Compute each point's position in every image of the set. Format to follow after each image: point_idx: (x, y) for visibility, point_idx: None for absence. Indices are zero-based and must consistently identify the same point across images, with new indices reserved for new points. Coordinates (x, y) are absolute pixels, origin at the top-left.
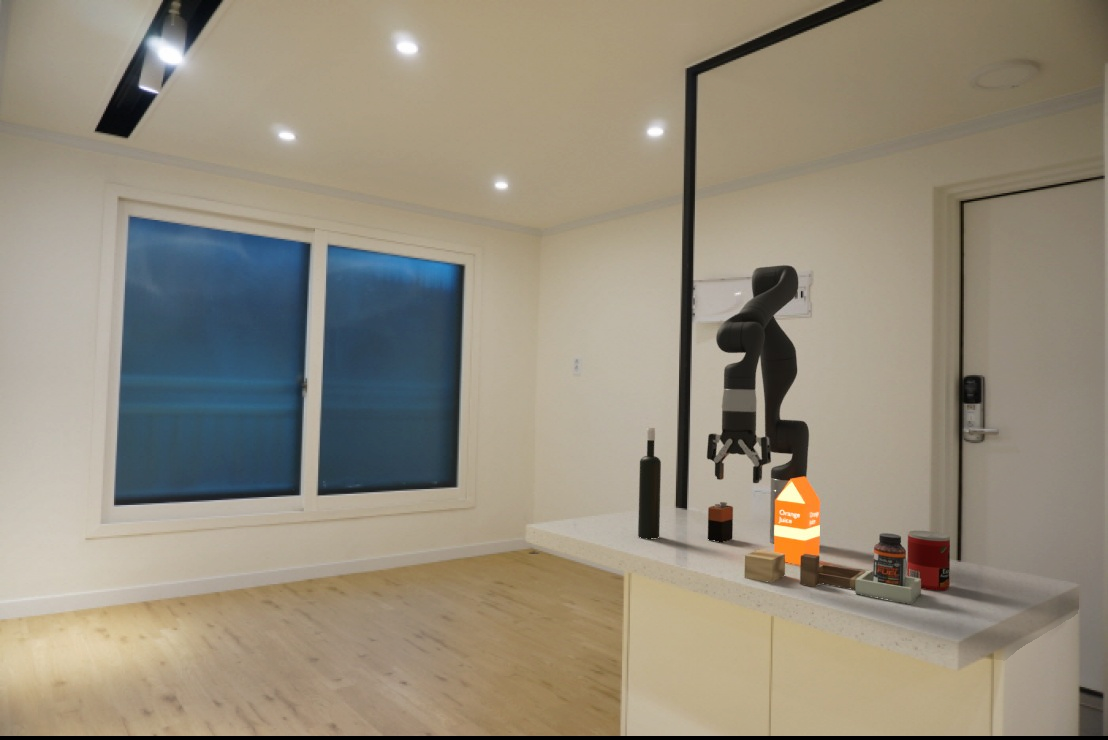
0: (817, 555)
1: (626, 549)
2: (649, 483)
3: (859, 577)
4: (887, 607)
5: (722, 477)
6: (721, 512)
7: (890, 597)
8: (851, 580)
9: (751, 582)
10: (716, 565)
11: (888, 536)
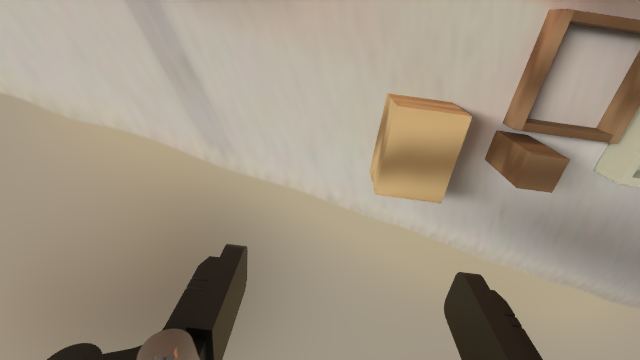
0: (564, 159)
1: (27, 72)
2: None
3: (634, 164)
4: (632, 220)
5: (244, 261)
6: None
7: None
8: (610, 141)
9: (389, 196)
10: (284, 101)
11: None
